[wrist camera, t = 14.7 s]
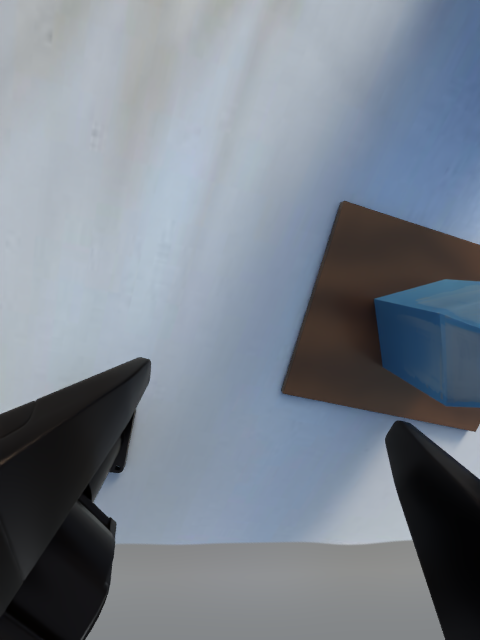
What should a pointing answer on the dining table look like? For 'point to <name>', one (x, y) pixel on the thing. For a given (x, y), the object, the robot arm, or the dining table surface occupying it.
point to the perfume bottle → (434, 339)
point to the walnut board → (373, 314)
